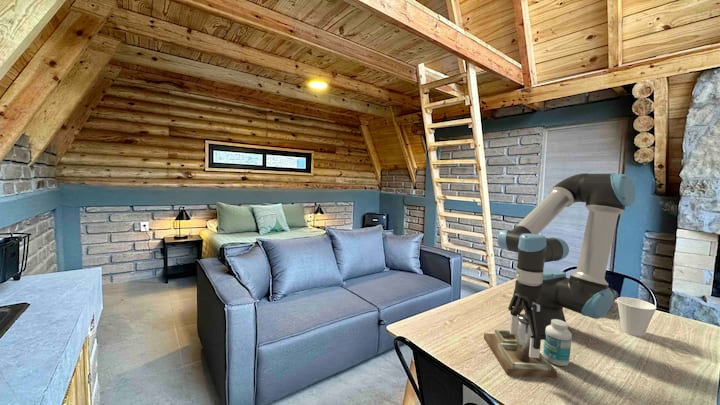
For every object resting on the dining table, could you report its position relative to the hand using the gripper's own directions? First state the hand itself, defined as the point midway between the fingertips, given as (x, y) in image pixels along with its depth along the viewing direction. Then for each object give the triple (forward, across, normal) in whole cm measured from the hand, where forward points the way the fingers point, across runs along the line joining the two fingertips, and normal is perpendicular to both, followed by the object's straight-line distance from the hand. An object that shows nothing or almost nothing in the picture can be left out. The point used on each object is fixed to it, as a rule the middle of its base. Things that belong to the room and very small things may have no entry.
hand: (523, 344), depth 99 cm
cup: (+6, -26, +56) cm, 62 cm away
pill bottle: (+7, -3, +13) cm, 15 cm away
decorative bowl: (+7, -54, +54) cm, 77 cm away
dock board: (+7, -4, 0) cm, 8 cm away
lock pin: (+5, 0, 0) cm, 5 cm away
